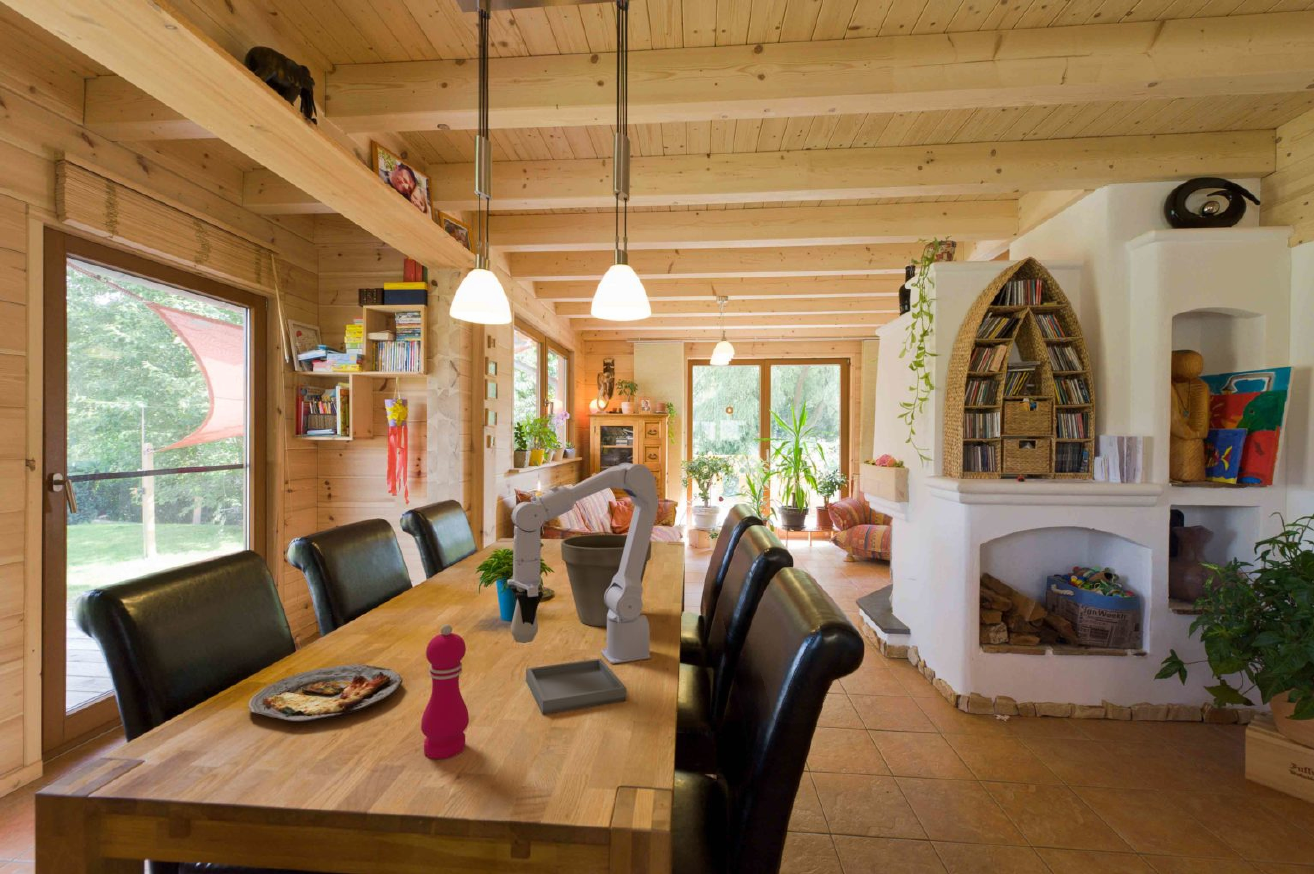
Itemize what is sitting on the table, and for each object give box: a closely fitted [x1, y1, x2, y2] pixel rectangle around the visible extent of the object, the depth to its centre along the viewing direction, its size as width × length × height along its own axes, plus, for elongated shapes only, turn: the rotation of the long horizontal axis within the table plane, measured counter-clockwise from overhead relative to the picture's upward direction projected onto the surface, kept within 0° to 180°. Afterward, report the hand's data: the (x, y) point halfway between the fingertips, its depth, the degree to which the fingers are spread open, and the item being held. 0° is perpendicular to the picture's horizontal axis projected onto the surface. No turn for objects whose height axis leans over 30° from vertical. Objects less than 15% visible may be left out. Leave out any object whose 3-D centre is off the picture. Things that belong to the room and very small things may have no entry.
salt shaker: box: [510, 586, 539, 644], centre depth 129 cm, size 6×6×13 cm
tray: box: [525, 657, 627, 716], centre depth 119 cm, size 16×16×2 cm
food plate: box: [248, 663, 403, 722], centre depth 114 cm, size 25×23×4 cm
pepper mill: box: [420, 623, 470, 760], centre depth 97 cm, size 7×7×20 cm
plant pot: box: [560, 533, 652, 627], centre depth 166 cm, size 25×25×22 cm
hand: (526, 621), depth 129 cm, fingers closed on salt shaker, 4 cm apart
